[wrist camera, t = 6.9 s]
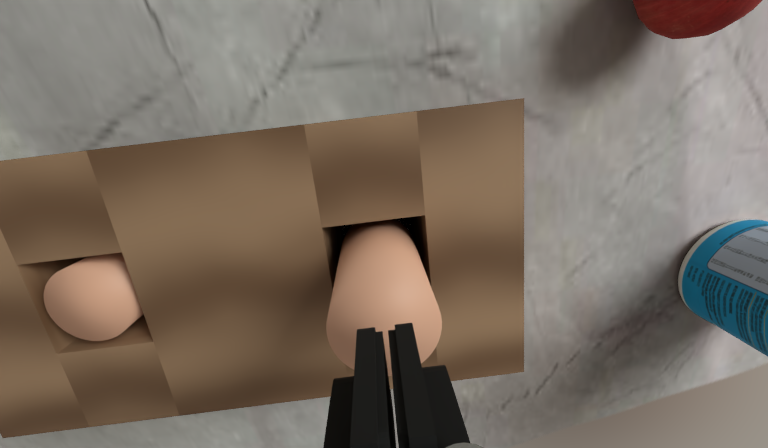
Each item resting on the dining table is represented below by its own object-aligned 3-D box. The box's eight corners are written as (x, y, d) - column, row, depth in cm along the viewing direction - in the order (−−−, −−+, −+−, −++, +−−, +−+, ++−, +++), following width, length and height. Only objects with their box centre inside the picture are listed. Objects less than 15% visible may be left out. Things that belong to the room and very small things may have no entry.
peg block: (33, 157, 22) (-140, 177, 15) (471, 105, 23) (523, 98, 15) (108, 345, 26) (2, 437, 19) (479, 299, 27) (523, 371, 19)
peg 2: (336, 220, 19) (317, 282, 12) (411, 210, 19) (438, 268, 12) (347, 287, 20) (335, 383, 13) (417, 279, 20) (445, 369, 13)
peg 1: (132, 224, 23) (29, 271, 16) (193, 217, 24) (116, 261, 16) (151, 279, 25) (62, 345, 17) (208, 272, 25) (143, 335, 18)
